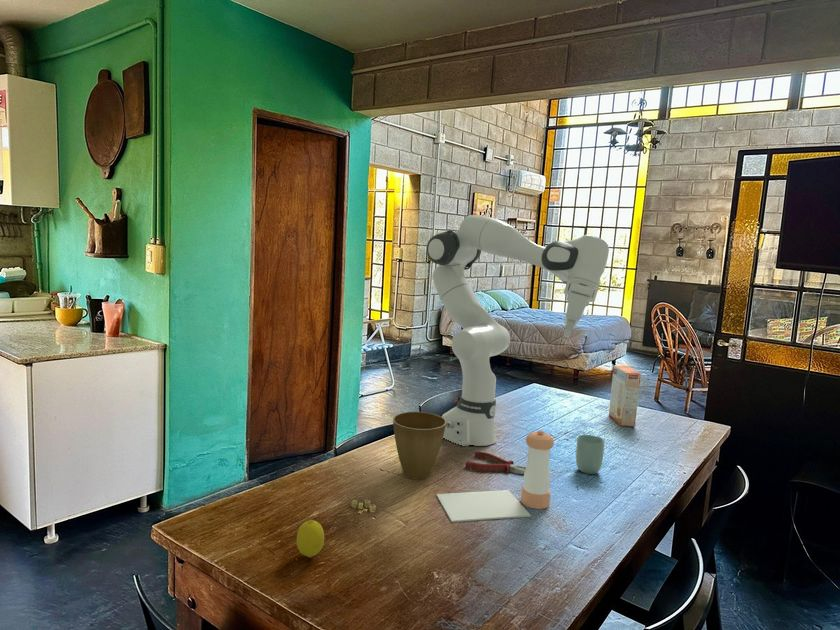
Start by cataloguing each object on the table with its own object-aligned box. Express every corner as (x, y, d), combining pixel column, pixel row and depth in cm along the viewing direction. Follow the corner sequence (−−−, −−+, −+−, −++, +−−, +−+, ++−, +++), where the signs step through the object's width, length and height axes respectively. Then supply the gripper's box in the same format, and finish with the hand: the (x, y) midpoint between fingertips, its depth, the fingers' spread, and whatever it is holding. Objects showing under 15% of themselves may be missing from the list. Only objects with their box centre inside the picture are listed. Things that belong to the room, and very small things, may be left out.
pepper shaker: (518, 505, 141) (523, 432, 138) (523, 493, 147) (529, 424, 145) (546, 511, 138) (553, 437, 136) (551, 499, 145) (557, 429, 142)
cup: (603, 478, 160) (606, 445, 159) (575, 474, 162) (578, 441, 161) (600, 468, 168) (603, 436, 167) (573, 464, 169) (576, 433, 168)
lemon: (298, 549, 115) (298, 513, 114) (324, 549, 116) (325, 513, 115) (294, 565, 110) (295, 527, 109) (322, 564, 110) (323, 527, 109)
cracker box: (636, 427, 210) (641, 373, 207) (620, 426, 210) (625, 372, 207) (623, 416, 224) (628, 365, 221) (608, 415, 224) (613, 364, 221)
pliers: (531, 484, 155) (532, 475, 154) (463, 470, 162) (464, 461, 162) (540, 470, 165) (540, 462, 165) (475, 457, 173) (476, 449, 172)
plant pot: (379, 472, 156) (381, 418, 154) (415, 459, 167) (418, 408, 165) (418, 490, 146) (421, 432, 144) (453, 475, 157) (457, 421, 155)
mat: (508, 491, 148) (508, 489, 148) (530, 516, 135) (530, 515, 135) (436, 495, 144) (436, 494, 144) (451, 522, 130) (451, 520, 130)
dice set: (350, 507, 136) (350, 500, 136) (370, 505, 138) (370, 497, 138) (355, 517, 131) (356, 510, 131) (376, 514, 133) (376, 507, 133)
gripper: (568, 293, 168) (554, 336, 167) (570, 283, 148) (555, 332, 148) (589, 299, 166) (575, 343, 166) (594, 289, 146) (578, 339, 146)
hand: (565, 338), depth 157 cm, fingers open, 8 cm apart
